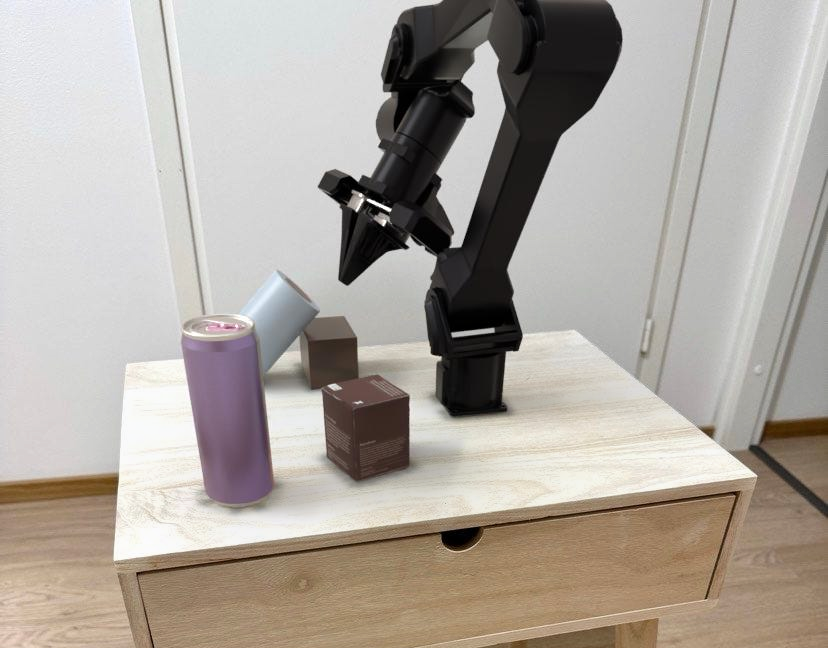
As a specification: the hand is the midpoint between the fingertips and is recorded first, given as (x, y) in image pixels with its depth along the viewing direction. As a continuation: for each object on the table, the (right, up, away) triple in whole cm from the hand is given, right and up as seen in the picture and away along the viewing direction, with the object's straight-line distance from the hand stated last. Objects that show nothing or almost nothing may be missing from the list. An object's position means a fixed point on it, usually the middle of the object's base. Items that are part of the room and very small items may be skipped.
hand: (342, 283), depth 83 cm
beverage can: (-8, -24, -16) cm, 30 cm away
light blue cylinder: (-9, -9, +6) cm, 14 cm away
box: (+3, -21, -11) cm, 24 cm away
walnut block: (-2, -8, +7) cm, 11 cm away
